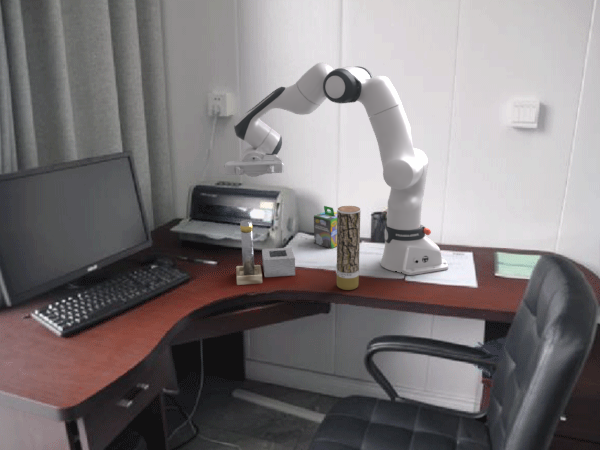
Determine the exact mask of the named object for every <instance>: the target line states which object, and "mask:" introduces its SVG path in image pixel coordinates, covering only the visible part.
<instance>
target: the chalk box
mask: <svg viewBox="0 0 600 450" xmlns="http://www.w3.org/2000/svg"><path fill="white" fill-rule="evenodd" d="M323 209H324V212H320V213H316V214H314V215H313V232H314V233H313V234H314V235H313V241H314V244H316V245H318V246H320V247H321V246H322V247H324V248H326V249H327V248H328V249H333V248H337V211H334V207H330V206H327V205H324V206H323Z"/></svg>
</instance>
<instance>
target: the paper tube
mask: <svg viewBox="0 0 600 450" xmlns="http://www.w3.org/2000/svg"><path fill="white" fill-rule="evenodd" d="M336 212H337V247H336V286H337V288H339V289H340V290H343V291H344V290H345V291H351V290H352V291H353V290H355V289H357V288H358V287H359V282H360V281H359V279H360V278H359V277H360V248H361V247H360V244H361V243H360V242H361V240H360V239H361V238H360V237H361V208H360V207H358V206H355V205H340V206H338V207H337V210H336Z"/></svg>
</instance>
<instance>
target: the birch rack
mask: <svg viewBox="0 0 600 450" xmlns="http://www.w3.org/2000/svg"><path fill="white" fill-rule="evenodd" d="M235 269H236V270H235V271H236V272H235V273H236V285H237V286H240V285H242V286H244V285H257V284H263V273H262V266H261V264H254V269H255V275H245V276H244V274H243V265H237V266H236V267H235Z"/></svg>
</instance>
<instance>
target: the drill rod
mask: <svg viewBox="0 0 600 450" xmlns="http://www.w3.org/2000/svg"><path fill="white" fill-rule="evenodd" d="M239 223H240V224H239V228H240V237H241V241H240V242H241V256H242V266H243V274H244V276H245V275H255V269H254V265H255V254H254V253H255V252H254V238H253V236H254V235H253V233H254V232H253V231H254V229H253V228H254V226H253V221H252V220H250V219H242V220H241V221H240V222H239Z"/></svg>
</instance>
